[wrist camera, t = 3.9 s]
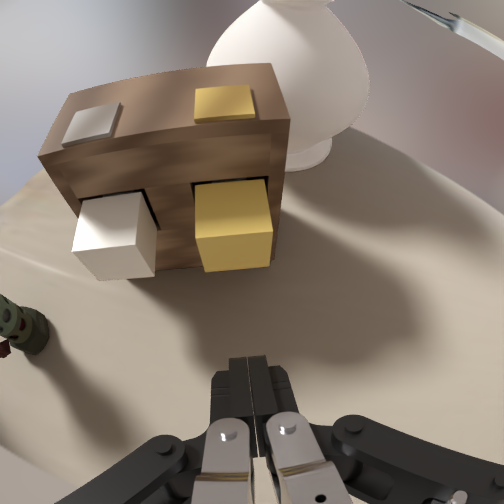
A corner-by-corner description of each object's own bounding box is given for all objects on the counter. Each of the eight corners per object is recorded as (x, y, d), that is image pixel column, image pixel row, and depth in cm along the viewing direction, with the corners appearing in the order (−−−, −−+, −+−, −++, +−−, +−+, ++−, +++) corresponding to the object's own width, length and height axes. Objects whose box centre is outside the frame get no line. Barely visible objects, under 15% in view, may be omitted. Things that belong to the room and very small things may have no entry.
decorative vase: (363, 124, 40) (403, -38, 19) (327, 212, 33) (390, -34, 11) (251, 89, 44) (251, -63, 22) (184, 159, 36) (148, -48, 15)
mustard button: (205, 272, 22) (195, 238, 18) (203, 203, 25) (195, 163, 21) (269, 266, 22) (273, 231, 18) (259, 197, 25) (260, 157, 21)
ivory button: (99, 281, 21) (71, 251, 17) (108, 214, 24) (88, 179, 20) (154, 276, 21) (135, 244, 18) (158, 207, 24) (144, 169, 20)
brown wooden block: (119, 273, 29) (35, 152, 15) (126, 215, 32) (68, 90, 18) (273, 259, 30) (291, 114, 16) (264, 200, 33) (271, 59, 19)
